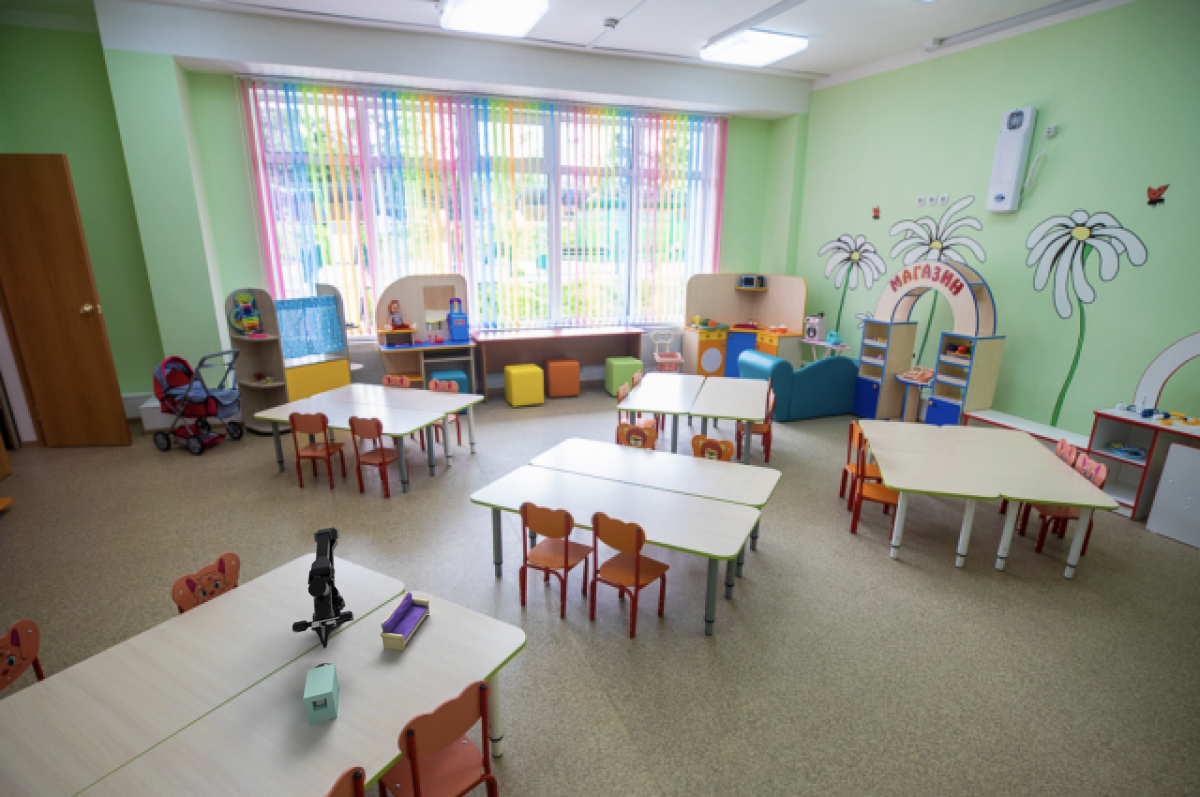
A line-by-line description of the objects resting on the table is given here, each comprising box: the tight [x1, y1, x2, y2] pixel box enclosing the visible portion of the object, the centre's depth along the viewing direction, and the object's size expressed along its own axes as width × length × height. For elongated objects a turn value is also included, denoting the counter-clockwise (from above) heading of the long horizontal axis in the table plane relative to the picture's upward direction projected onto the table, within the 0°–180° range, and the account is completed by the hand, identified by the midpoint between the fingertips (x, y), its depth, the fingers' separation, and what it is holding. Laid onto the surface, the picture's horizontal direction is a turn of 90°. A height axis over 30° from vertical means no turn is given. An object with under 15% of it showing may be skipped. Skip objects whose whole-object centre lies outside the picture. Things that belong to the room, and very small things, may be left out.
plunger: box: [314, 662, 331, 705], centre depth 183 cm, size 12×7×7 cm, turn 20°
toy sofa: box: [380, 591, 431, 651], centre depth 215 cm, size 21×9×10 cm, turn 168°
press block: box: [302, 663, 340, 726], centre depth 182 cm, size 12×8×10 cm, turn 20°
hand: (325, 647), depth 195 cm, fingers closed
